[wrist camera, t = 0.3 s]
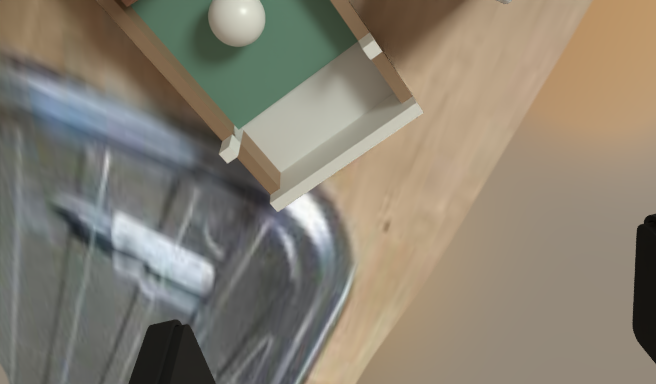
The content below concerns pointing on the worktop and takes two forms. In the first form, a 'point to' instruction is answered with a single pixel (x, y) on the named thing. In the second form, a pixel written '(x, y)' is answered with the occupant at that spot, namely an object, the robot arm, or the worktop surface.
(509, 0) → the medicine bottle
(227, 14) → the ball
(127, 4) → the striker
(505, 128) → the worktop surface
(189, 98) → the pitch
